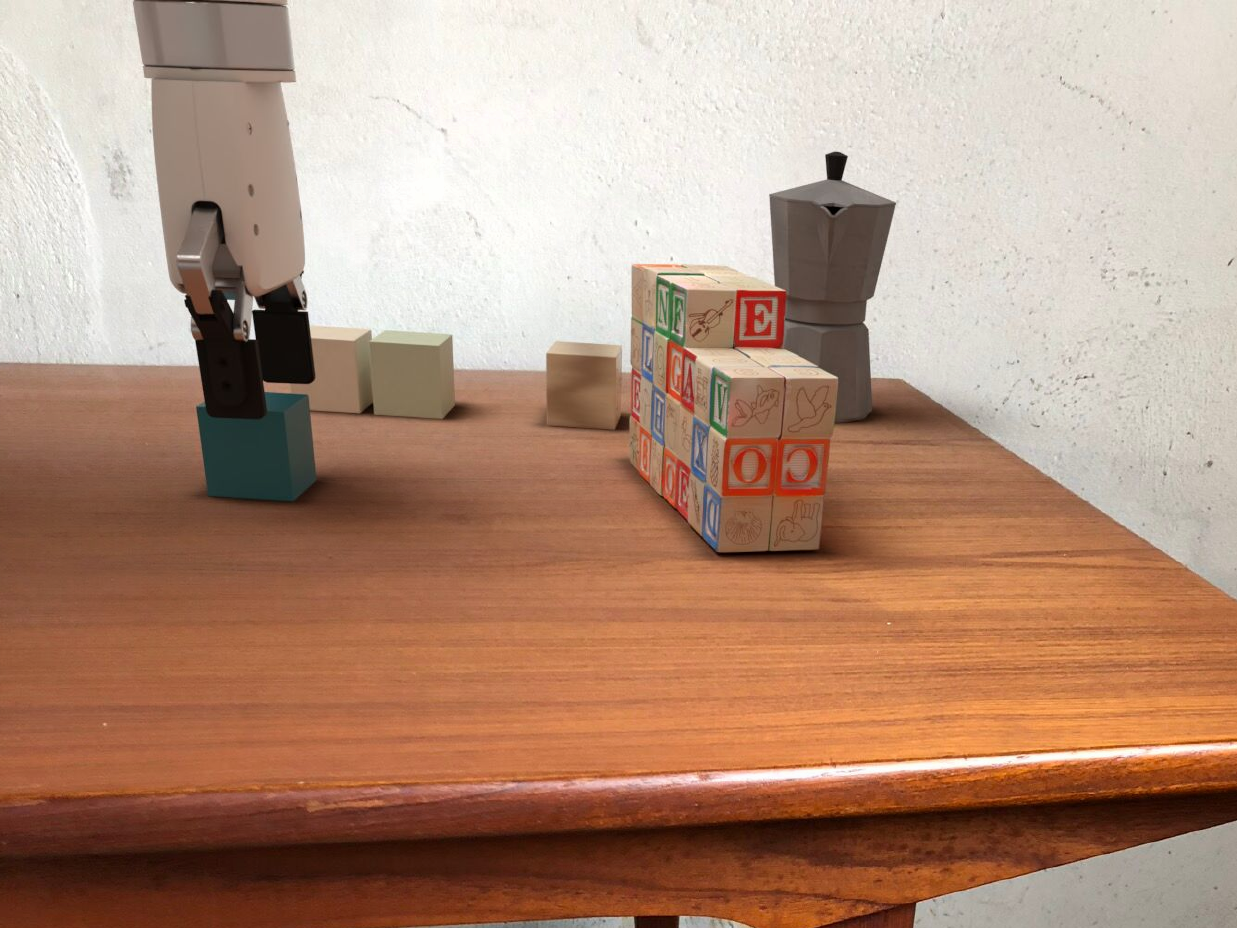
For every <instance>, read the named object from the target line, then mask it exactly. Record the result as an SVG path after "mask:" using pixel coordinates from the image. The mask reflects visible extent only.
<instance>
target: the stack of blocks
mask: <svg viewBox="0 0 1237 928" xmlns="http://www.w3.org/2000/svg"><path fill="white" fill-rule="evenodd" d="M785 310H786V291H785V290H783V289H781V288H778V287H776V286H775V284H774V285H773V284H771V283H768V282H766V281H764V280H762V279H759V278H758V277H755V276H750V275H747V274H745V273H743V272H740V271H738V269H735V268H732V267H730V266H728V265H716V264H690V263H689V264H687V263H681V264H680V265H679V264H669V263H668V264H666V263H664V264H663V263H633V264H631V317H630V357H629V359H630V360H629V361H630V362H629V363H630V366H631V375H630V377H631V379H630V395H631V396H630V414H631V415H630V416H629V463H630V464H631V465H632V466H633V467H634V469H636V471H637V472H638V474H639V475H640V476H641V477H642V478H643V479H644V480H645V481H646V482H647V483H648V484H649V485H650V487H651V488H653V490H654V491H655V492H656V493H657V494H658V495H659V496H661V497H663V498H664V499H665V500H666V501H667V502H668V503H669V504H670V505H671V506H672V507H673V508H674V509H676V510H677V511H678V512H679V514H680V515H681V516H682V517H684V519H685V520H686V521H687V523H688V525H690V526H691V527H692V529H694V530H695V531H696V532H697V533H698V534H699V535H700V536H701V537H702V538H703V540H704V541H706V543H707V544H708V545H709V546H710V547H711V548H712V549H713V550H714V551H715V552H716V553H747V552H785V551H814V550H819V549H820V542H821V534H822V527H823V526H822V525H823V511H824V501H825V494H826V493H827V492H826V491H827V482H828V471H829V462H830V461H829V460H830V451H831V450H830V449H831V438H832V437H833V435H834V429H835V423H834V421H835V412H836V401H837V391H838V377H836V376H834V375H832V374H830V373H828V372H826V371H824V370H822V369H820V368H819V367H818V366H816V365H815V364H813V363H811V362H809V361H807V360H805V359H803V358H801V357H799V356H798V355H796V354H794V353H792V352H790V351H788V350H786V349H782V348H783V338H784V322H785Z"/></svg>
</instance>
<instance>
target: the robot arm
mask: <svg viewBox="0 0 1237 928" xmlns="http://www.w3.org/2000/svg"><path fill="white" fill-rule="evenodd" d="M132 8H133V12H134V19H135V25H136V32H137V38H138V45H139V51H140V57H141V64H142V71H143V77H144V78H145V79H150V80H151V81H150V82H151V83H150V84H151V87H150V88H151V89H150V90H151V92H150V93H151V94H150V95H151V97H150V98H151V124H152V125H151V126H152V140H153V141H152V143H153V154H154V155H153V156H154V166H155V173H156V184H157V192H158V193H157V194H158V199H159V200H158V202H159V210H160V217H161V225H162V227H161V228H162V234H163V241H164V250H165V258H166V264H167V271H168V278H169V282H170V283H171V284H172V286H173V287H174V288H175V289H176V291H178V292H180V293H181V294H184V298H185V299H184V300H183V301H184V305H185V309H186V308H187V311H188V312H189V314H190V332H191V335H192V338H193V339H194V342H195V343H194V344H195V348H196V355H197V361H198V368H199V374H200V381H201V386H202V394H203V400H204V402H205V407H206V411H207V413H208V415H209V416H211V417H213V418H233V419H261V418H263V417H264V416H265V415H266V414H267V406H266V399H265V392H266V391H265V386H264V382H265V383H268V384H288V385H290V384H310V383H312V382H313V381H314V380H315V368H314V359H313V350H312V342H311V333H310V318H309V311H307V309H308V294H307V291H306V288H305V285H304V283H303V280H302V278H303V274H304V273H305V270H304V269H305V266H306V265H305V264H306V249H305V235H304V234H305V233H304V223H303V222H304V221H303V213H302V205H301V199H300V198H301V197H300V189H299V184H298V176H297V169H296V164H295V156H294V150H293V144H292V138H291V132H290V123H289V119H288V114H287V109H286V104H285V103H286V102H285V97H284V93H283V88H282V83H284V84H286V83H290V84H291V83H297V76H296V70H295V69H296V67H295V58H294V49H293V42H292V31H291V22H290V13H289V8H288V0H132ZM254 300H255V303H256V305H257V308H258V309H253V305H254ZM228 301H234V304H233V308H232V307H231V305H230V304H229V302H228ZM252 323H253V328H254V337H255V338H253V339H251V338H250V337H251V326H252Z"/></svg>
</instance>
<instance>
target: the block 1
mask: <svg viewBox="0 0 1237 928" xmlns="http://www.w3.org/2000/svg"><path fill="white" fill-rule="evenodd" d="M310 333H311V342H312V350H313V359H314V368H315V380H314V381H313V382H312V383H310V384H289V393H290V394H306V395H308V396H309V405H310V412H311V411H313V412H328V413H343V414H357V415H358V414H361V413H363V412H364V411H365V410H366V409H367V408H369V407H370V406H371V405H372V404H373V391H372V377H371V363H370V349H369V341H370V340H372V339H373V336H372V335H373V334H372V329H371V328H357V327H340V326H326V325H325V326H324V325H310Z"/></svg>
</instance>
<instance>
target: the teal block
mask: <svg viewBox="0 0 1237 928" xmlns="http://www.w3.org/2000/svg"><path fill="white" fill-rule="evenodd" d="M264 392H265V399H266V406H267V414H266V415H265V416H264V417H263V418H261V419H233V418H213V417H211V416H209V415H208V413H207V411H206V407H205V401H202V402H201V403H199V404H197V405H196V406H195V409H196V418H197V424H198V425H197V426H198V431H199V438H200V446H201V454H202V461H203V467H204V476H205V481H206V482H205V483H206V490H207V496H208V497H215V498H217V497H218V498H230V499H232V498H233V499H234V498H235V499H244V500H245V499H246V500H262V501H277V502H292V503H293V502H295V501H296V500H297V499H298V498H299V497H301V495H302V494H304V492H306V491H307V490H308V489H309V488H310V487H311V486H312V485H313V484H314V483H316V482H317V469H316V460H315V449H314V440H313V439H314V438H313V428H312V420H311V419H312V418H311V417H312V416H311V411H310V405H309V396H308V395H306V394H291V393H290V392H289V393H287V392H275V391H264Z"/></svg>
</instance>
